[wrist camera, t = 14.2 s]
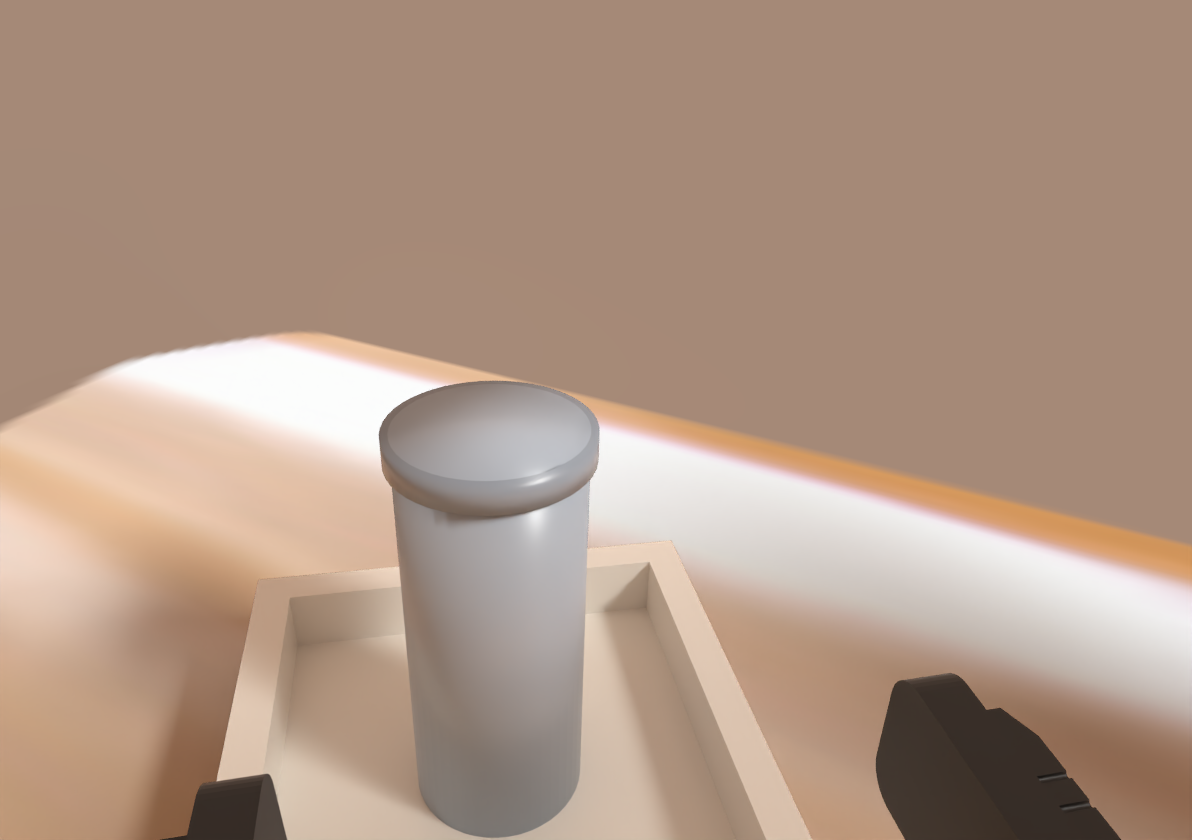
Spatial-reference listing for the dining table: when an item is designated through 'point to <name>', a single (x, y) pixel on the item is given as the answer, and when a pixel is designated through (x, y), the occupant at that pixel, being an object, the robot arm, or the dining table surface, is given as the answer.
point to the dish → (609, 714)
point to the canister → (493, 595)
